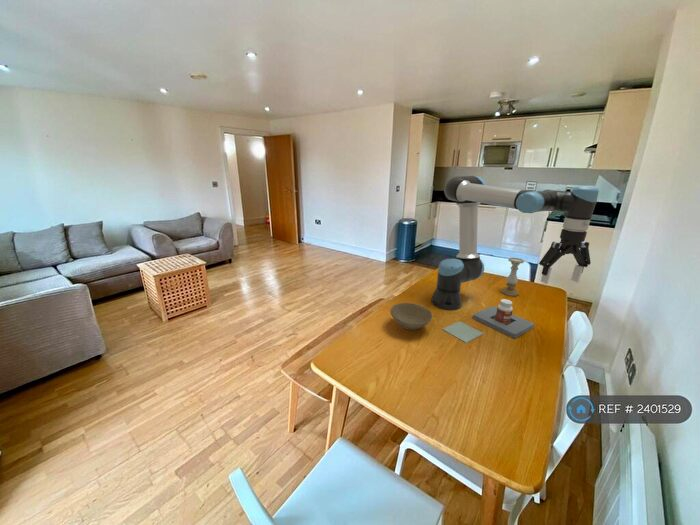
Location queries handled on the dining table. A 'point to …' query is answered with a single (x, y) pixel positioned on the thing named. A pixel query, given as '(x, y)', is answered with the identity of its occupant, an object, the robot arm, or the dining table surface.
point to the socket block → (512, 329)
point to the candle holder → (512, 278)
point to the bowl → (411, 315)
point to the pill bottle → (504, 312)
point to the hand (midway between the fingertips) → (559, 281)
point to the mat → (463, 331)
